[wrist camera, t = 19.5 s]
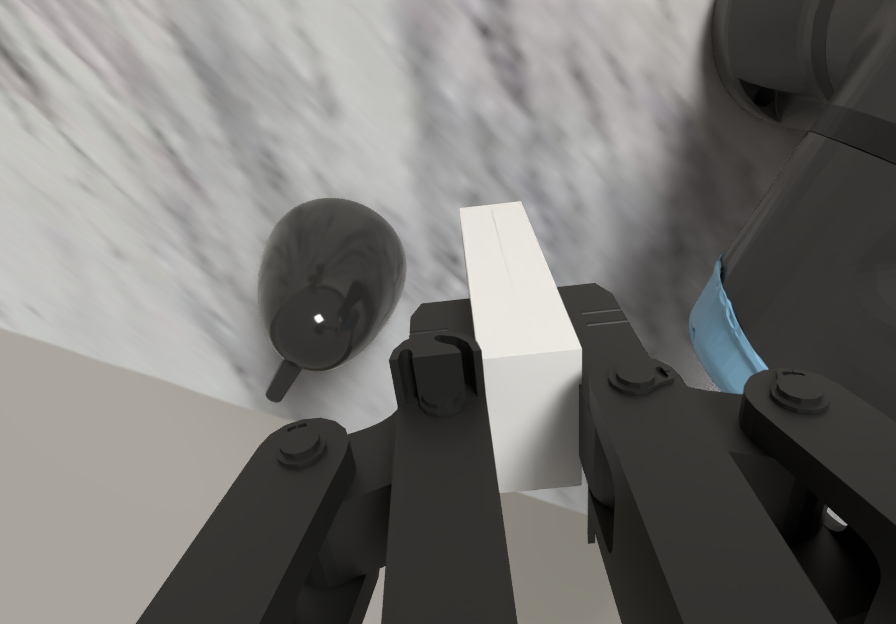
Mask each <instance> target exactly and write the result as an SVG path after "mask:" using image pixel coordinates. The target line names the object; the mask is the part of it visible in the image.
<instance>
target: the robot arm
mask: <svg viewBox="0 0 896 624" xmlns="http://www.w3.org/2000/svg"><path fill="white" fill-rule="evenodd" d="M712 46H713V54H714V59H715V64H716V67H717V70H718V73H719V76H720V78H721V80H722V82H723V84H724V86H725V88H726V89H727V91H728V93H729V94H730V95H731V96H732V98H733V99H734V100H735V101H736V102H737V103H738V104H739V105H740V106H741V107H742V108H744V109H745V110H746V111H748V112H749V113H751V114H752V115H754V116H756V117H758V118H760V119H763V120H765V121H768V122H770V123H773V124H775V125H778V126H781V127H785V128H789V129H795V130H804V131H807V133H806V134H805V136H804V137H803V139H802V140H801V142H800V143H799V145H798V146H797V148H796V149H795V151H794V152H793V154H792V155H791V157H790V158H789V160H788V161H787V163H786V164H785V166H784V167H783V169H782V170H781V172H780V173H779V175H778V176H777V178H776V179H775V181H774V182H773V184H772V185H771V187H770V188H769V190H768V191H767V193H766V194H765V196H764V197H763V199H762V200H761V202H760V203H759V205H758V206H757V208H756V209H755V211H754V212H753V214H752V215H751V217H750V218H749V220H748V221H747V223H746V224H745V226H744V227H743V229H742V230H741V232H740V233H739V235H738V236H737V237H736V239H735V240H734V242H733V243H732V245H731V246H730V247H729V249H728V250H727V252H723V253H722V254H721V256H720V257H719V258H718V260H717V261H716V263H715V266H714V271H713V274H712V275H711V277H710V279H709V281H708V282H707V284H706V286H705V288H704V289H703V291H702V293H701V294H700V296H699V298H698V299H697V301H696V303H695V304H694V306H693V308H692V310H691V313H690V317H689V333H690V339H691V342H692V344H693V346H694V351H695V353H696V356H697V358H698V359H699V361H700V363H701V364H702V366H703V368H704V369H705V371H706V372H707V374H708V375H709V377H710V378H711V379H712V381H713V382H714V383H715V384H716V386H717V387H718V388H719V389H720V390H721V392H715V391H707V390H701V389H695V388H691V387H688V386H686V384H685V383H684V381H683V379H682V378H681V376H680V375H679V374H678V373H677V372H676V371H675V370H674V369H673V368H672V367H670V366H668V365H666V364H664V363H662V362H660V361H658V360H655V359H651V358H650V357H649V356H648V354H647V352H646V351H645V349H644V347H643V346H642V344H641V342H640V340H639V339H638V337H637V335H636V334H635V332H634V330H633V328H632V327H631V325H630V323H629V322H627V318H626V317H625V315H624V313H623V311H622V310H620V306H619V305H618V303H617V301H616V300H615V298H614V296H613V294H612V293H610V292H608V291H607V290H605V289H604V288H602V287H600V286H599V285H597V284H596V283H591V284H582V285H572V286H563V287H556V285H555V283H554V280H553V278H552V275H551V273H550V270H549V268H548V266H547V263H546V261H545V258H544V256H543V254H542V251H541V249H540V246H539V244H538V242H537V239H536V237H535V234H534V232H533V230H532V227H531V225H530V222H529V220H528V218H527V215H526V213H525V210H524V208H523V206H522V203H521V201H520V202H511V203H502V204H493V205H485V206H476V207H467V208H459V210H460V219H461V229H462V239H463V248H464V258H465V267H466V277H467V287H468V296H469V299H460V300H451V301H442V302H432V303H423V304H421V305H420V306H419V307H418V309H417V310H416V311H415V313H414V314H413V315H412V316H411V319H410V336H409V339H408V340H405V341H403V342H402V343H401V344H400V345H399V346H398V347H396V348H395V349H394V350H393V352H392V354H391V357H390V359H389V363H390V368H391V374H392V379H393V384H394V389H395V394H396V400H397V405H398V409H397V410H396V411H395V412H394V413H393V414H392V415H391V416H390V417H388V418H387V419H385V420H383V421H382V422H380V423H378V424H376V425H373V426H371V427H369V428H366V429H363V430H360V431H357V432H354V433H351V434H348V435H347V432H346V429H345V428H344V427H342V426H341V425H340V424H338V423H337V422H336V421H332V420H328V419H323V418H313V419H303V420H300V421H297V422H293V423H290V424H287V425H285V426H283V427H282V428H280V429H278V430H277V431H275V432H273V433H272V434H270V435H269V436H268V437H267V439H266V440H265V441H264V442H263V443H262V444H261V445H260V446H259V447H258V448H257V450H256V451H255V453H254V454H253V456H252V457H251V459H250V460H249V461H248V463H247V464H246V466H245V467H244V469H243V470H242V472H241V473H240V474H239V476H238V477H237V479H236V480H235V482H234V483H233V484H232V486H231V487H230V489H229V490H228V492H227V493H226V495H225V496H224V497H223V499H222V500H221V502H220V503H219V505H218V506H217V507H216V509H215V510H214V512H213V513H212V515H211V516H210V518H209V519H208V521H207V522H206V523H205V525H204V526H203V528H202V529H201V531H200V532H199V533H198V535H197V536H196V538H195V539H194V541H193V542H192V544H191V545H190V546H189V548H188V549H187V551H186V552H185V554H184V555H183V556H182V558H181V560H180V561H179V562H178V564H177V565H176V567H175V568H174V569H173V571H172V572H171V574H170V575H169V577H168V578H167V580H166V581H165V582H164V584H163V585H162V587H161V588H160V590H159V591H158V593H157V594H156V595H155V597H154V598H153V600H152V601H151V603H150V604H149V606H148V607H147V608H146V610H145V611H144V613H143V614H142V615H141V617H140V618H139V620H138V621H137V623H136V624H362V622H363V620H364V617H365V614H366V611H367V608H368V605H369V603H370V600H371V597H372V594H373V591H374V588H375V586H376V583H377V580H378V577H379V569H380V568H382V567H384V566H386V568H385V581H384V595H383V608H382V621H381V624H517V616H516V609H515V602H514V595H513V587H512V581H511V574H510V566H509V559H508V552H507V544H506V537H505V530H504V522H503V515H502V508H501V501H500V493H506V492H517V491H527V490H537V489H548V488H558V487H568V486H578V485H581V464H582V467H583V470H584V473H585V476H586V480H587V483H588V543H589V544H590V543H595V535H596V538H597V541H598V544H599V548H600V552H601V555H602V558H603V562H604V565H605V569H606V572H607V575H608V579H609V582H610V585H611V589H612V592H613V595H614V599H615V602H616V606H617V609H618V612H619V616H620V619H621V623H622V624H896V0H716V4H715V9H714V16H713V24H712ZM828 507H829V508H830V509H831V510H832V511H833V512H834V513H835V514H836V515H838V516H839V517H840V518H841V519H842V520H843V521H844V522H845V523H846V524H848V525H847V526H844V525H842V524H840V523H839V522H838V521H836V520H835V519H834V518H832V517H831V516H830V515H829V514H828V513H827V509H828Z"/></svg>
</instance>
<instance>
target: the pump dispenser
mask: <svg viewBox="0 0 896 624" xmlns="http://www.w3.org/2000/svg"><path fill="white" fill-rule="evenodd" d="M405 279H406V257H405V252H404V249H403V246H402V243H401V241H400V239H399V237H398V235H397V234H396V232H395V231H394V229H393V228H392V227H391V225H390V224H389V223H388V222H387V221H386V220H385V219H384V218H383V217H382V216H380V215H379V214H378V213H376V212H375V211H373V210H372V209H370V208H368V207H366V206H364V205H362V204H359V203H357V202H354V201H350V200H346V199H339V198H323V199H316V200H312V201H308V202H306V203H303V204H301V205H299V206H297V207H295V208H293V209H292V210H290V211H289V212H288V213H287V214H285V215H284V216H283V217H282V218H281V219H280V220H279V222H278V223H277V224H276V226H275V227H274V229H273V230H272V232H271V234H270V236H269V238H268V240H267V243H266V245H265V248H264V252H263V256H262V260H261V265H260V270H259V279H258V304H259V313H260V319H261V323H262V327H263V330H264V333H265V335H266V338H267V340H268V342H269V343H270V345H271V346H272V348H273V349H274V350H275V352H276V353H277V354H278V355H279V356H280V357H282V360H281V362H280V364H279V366H278V369H277V371H276V373H275V375H274V377H273V379H272V381H271V383H270V385H269V387H268V389H267V391H266V397H267V398H268V399H269V400H270V401H272V402H280V401H281V400H282V399H283V398H284V396H285V395H286V393H287V392H288V390H289V389H290V387H291V386H292V384H293V383H294V382H295V380H296V379H297V377H298V376H299V374H300V373H301V372H302V370H306V371H312V372H326V371H330V370H334V369H337V368H339V367H342V366H344V365H346V364H348V363H349V362H351V361H353V360H354V359H355V358H357V357H358V356H359V355H361V354H362V353H363V352H364V351H365V350H366V349H367V348H368V347H369V346H370V345H371V344H372V343H373V341H374V340H375V339H376V338H377V337H378V335H379V334H380V333H381V331H382V330H383V329H384V327H385V326H386V324H387V323H388V321H389V320H390V318H391V316H392V314H393V313H394V311H395V308H396V306H397V304H398V302H399V300H400V297H401V295H402V292H403V288H404V284H405Z"/></svg>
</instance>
